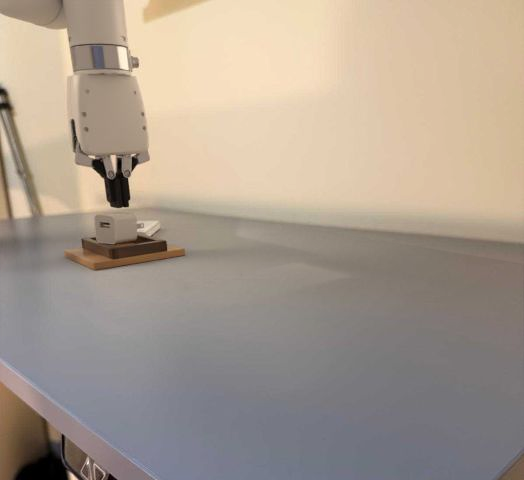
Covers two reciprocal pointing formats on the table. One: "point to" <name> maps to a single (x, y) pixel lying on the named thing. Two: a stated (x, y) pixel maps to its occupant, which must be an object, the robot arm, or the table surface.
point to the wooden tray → (122, 252)
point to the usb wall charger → (116, 227)
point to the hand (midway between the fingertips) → (119, 206)
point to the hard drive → (148, 227)
